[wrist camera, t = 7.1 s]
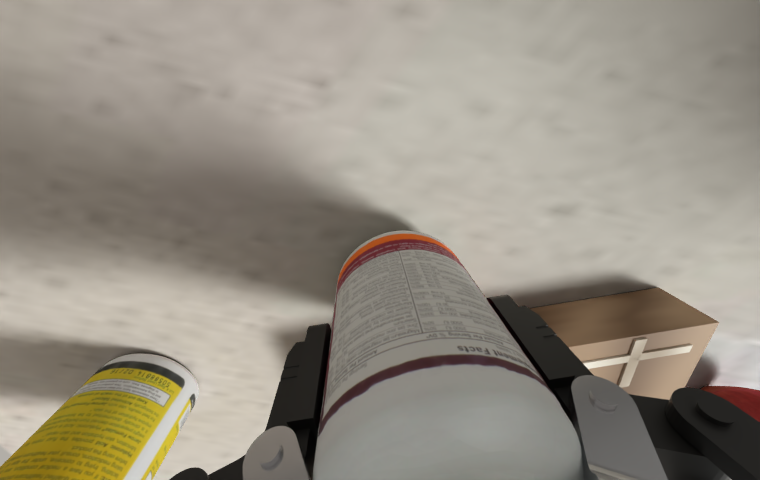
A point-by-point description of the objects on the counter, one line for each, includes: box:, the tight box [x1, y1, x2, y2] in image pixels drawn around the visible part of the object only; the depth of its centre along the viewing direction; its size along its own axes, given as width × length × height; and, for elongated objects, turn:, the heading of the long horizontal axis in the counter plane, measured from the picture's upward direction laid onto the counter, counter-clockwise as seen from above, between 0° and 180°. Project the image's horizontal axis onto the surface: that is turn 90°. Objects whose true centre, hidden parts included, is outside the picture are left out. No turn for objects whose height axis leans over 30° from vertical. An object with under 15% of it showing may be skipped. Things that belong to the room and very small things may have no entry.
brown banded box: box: [530, 288, 719, 400], centre depth 16 cm, size 20×8×3 cm, turn 98°
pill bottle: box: [312, 231, 584, 480], centre depth 8 cm, size 6×6×11 cm
